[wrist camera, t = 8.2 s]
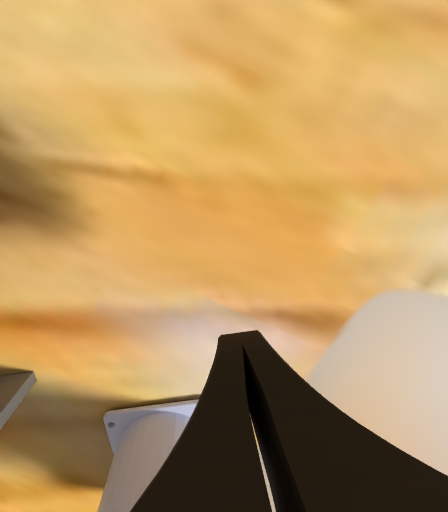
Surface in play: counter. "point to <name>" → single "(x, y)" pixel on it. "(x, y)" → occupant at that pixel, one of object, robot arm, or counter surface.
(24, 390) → the box
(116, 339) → the counter surface
